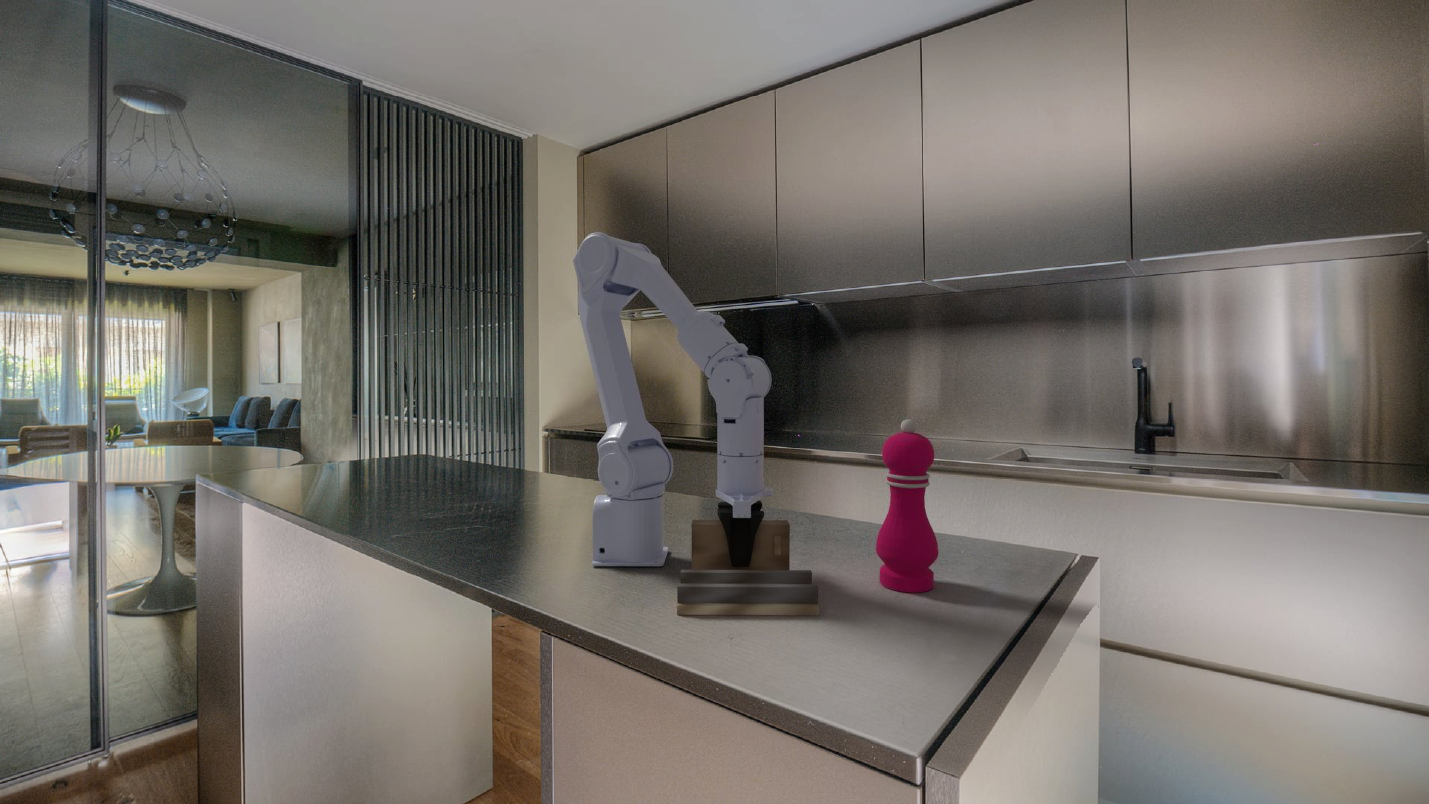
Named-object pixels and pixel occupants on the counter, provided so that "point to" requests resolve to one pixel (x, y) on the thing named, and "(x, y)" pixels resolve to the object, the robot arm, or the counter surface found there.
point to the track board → (747, 592)
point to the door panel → (766, 553)
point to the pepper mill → (907, 514)
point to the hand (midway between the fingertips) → (740, 562)
